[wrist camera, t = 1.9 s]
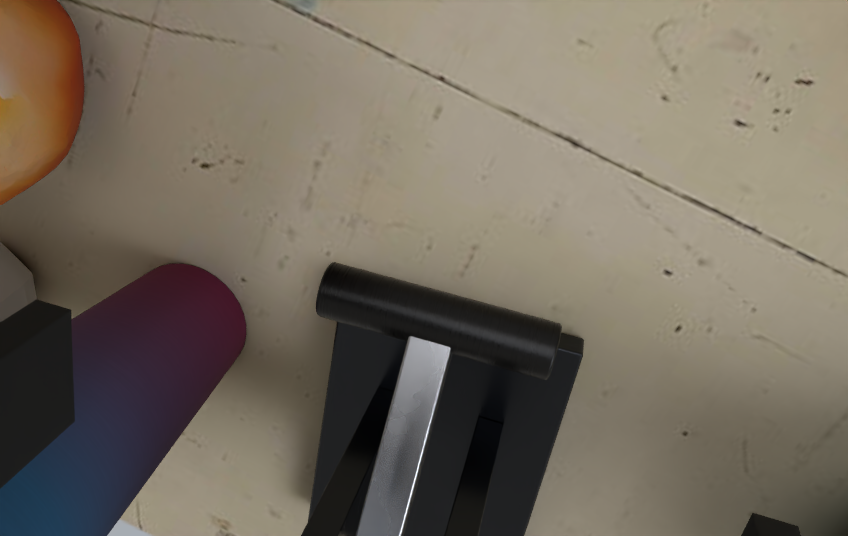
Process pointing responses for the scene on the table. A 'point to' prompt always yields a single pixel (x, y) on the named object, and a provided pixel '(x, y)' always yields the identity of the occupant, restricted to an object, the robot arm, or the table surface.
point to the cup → (127, 399)
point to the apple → (14, 284)
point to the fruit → (36, 91)
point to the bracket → (440, 439)
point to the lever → (425, 368)
